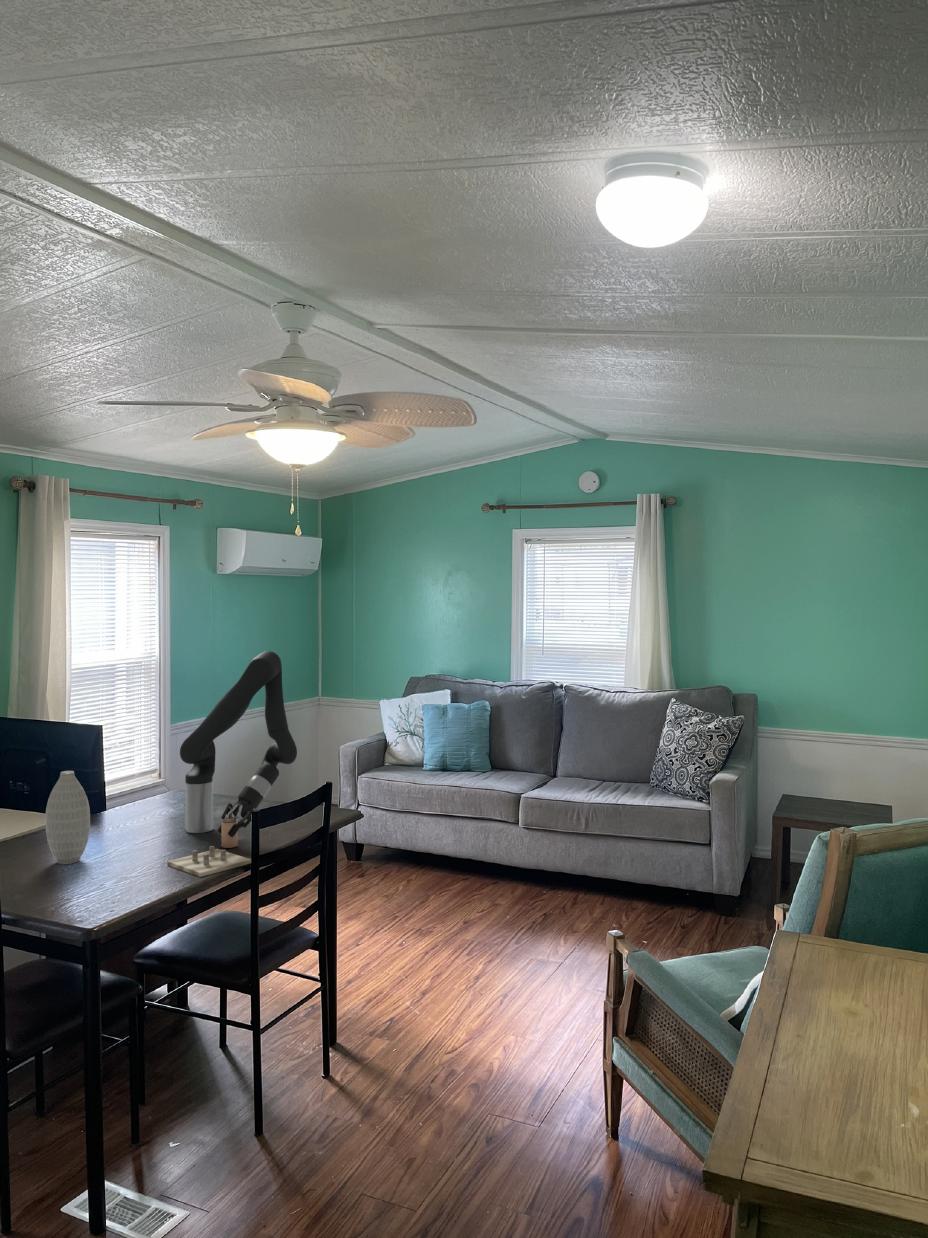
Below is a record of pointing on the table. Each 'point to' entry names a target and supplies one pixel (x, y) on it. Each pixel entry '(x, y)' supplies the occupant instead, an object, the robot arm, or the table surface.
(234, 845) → the canister
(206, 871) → the peg plate
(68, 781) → the vase
